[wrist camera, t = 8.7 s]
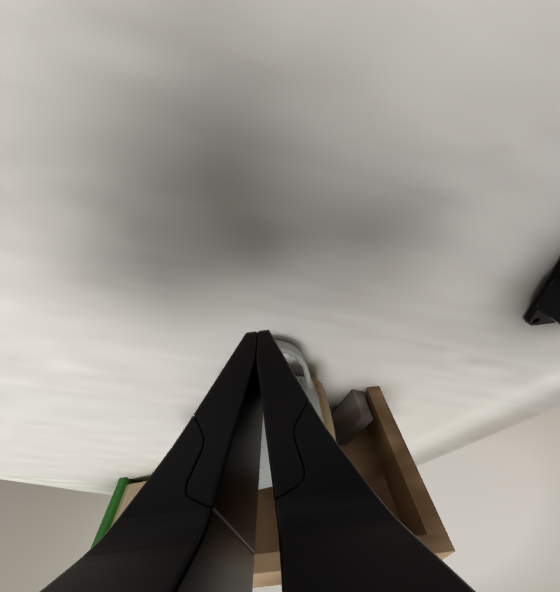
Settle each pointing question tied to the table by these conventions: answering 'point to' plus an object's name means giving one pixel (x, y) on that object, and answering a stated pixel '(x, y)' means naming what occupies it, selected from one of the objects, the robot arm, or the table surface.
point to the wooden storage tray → (375, 470)
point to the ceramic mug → (315, 396)
